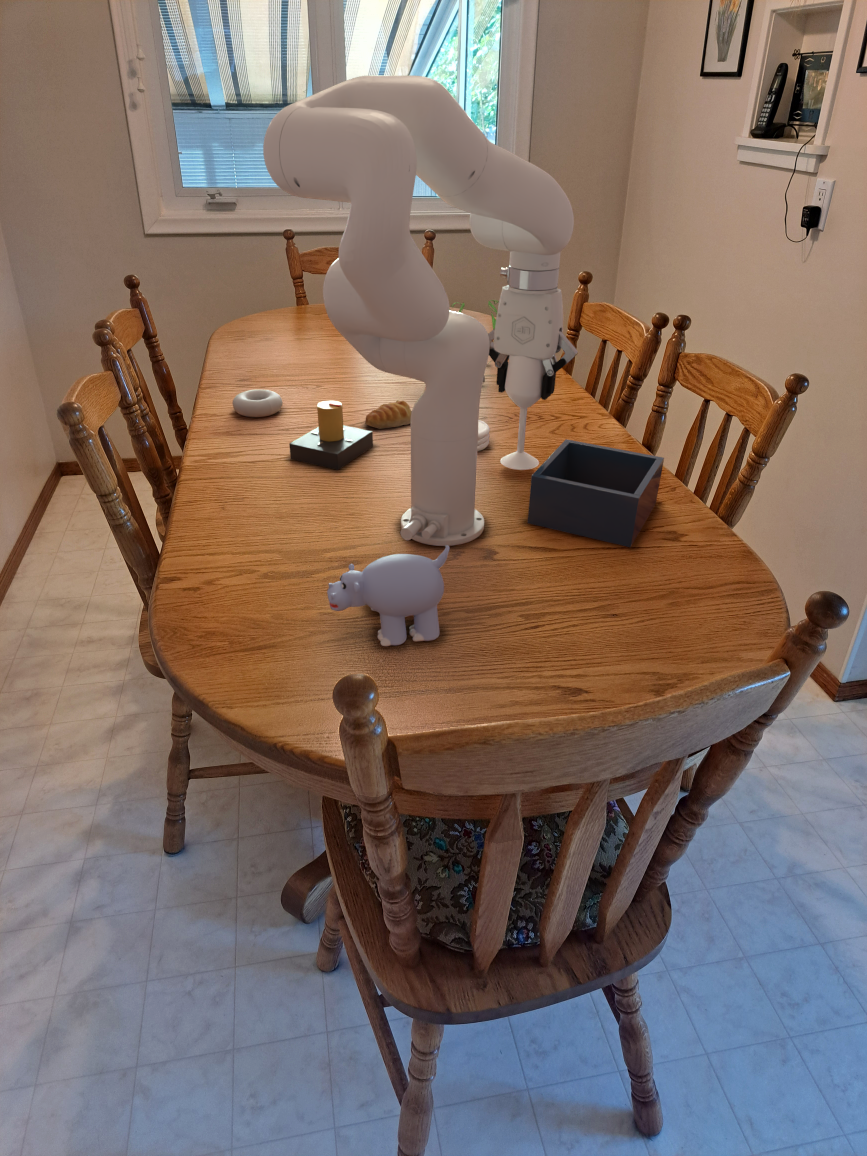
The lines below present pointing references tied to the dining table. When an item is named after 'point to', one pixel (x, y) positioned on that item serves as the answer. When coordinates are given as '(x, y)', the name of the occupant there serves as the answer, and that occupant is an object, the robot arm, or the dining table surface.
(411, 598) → the hippopotamus toy
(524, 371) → the champagne flute
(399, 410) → the pastry
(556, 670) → the dining table surface
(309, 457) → the panel
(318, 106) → the robot arm
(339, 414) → the tap knob
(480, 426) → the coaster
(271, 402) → the donut
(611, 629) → the dining table surface
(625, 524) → the basin
